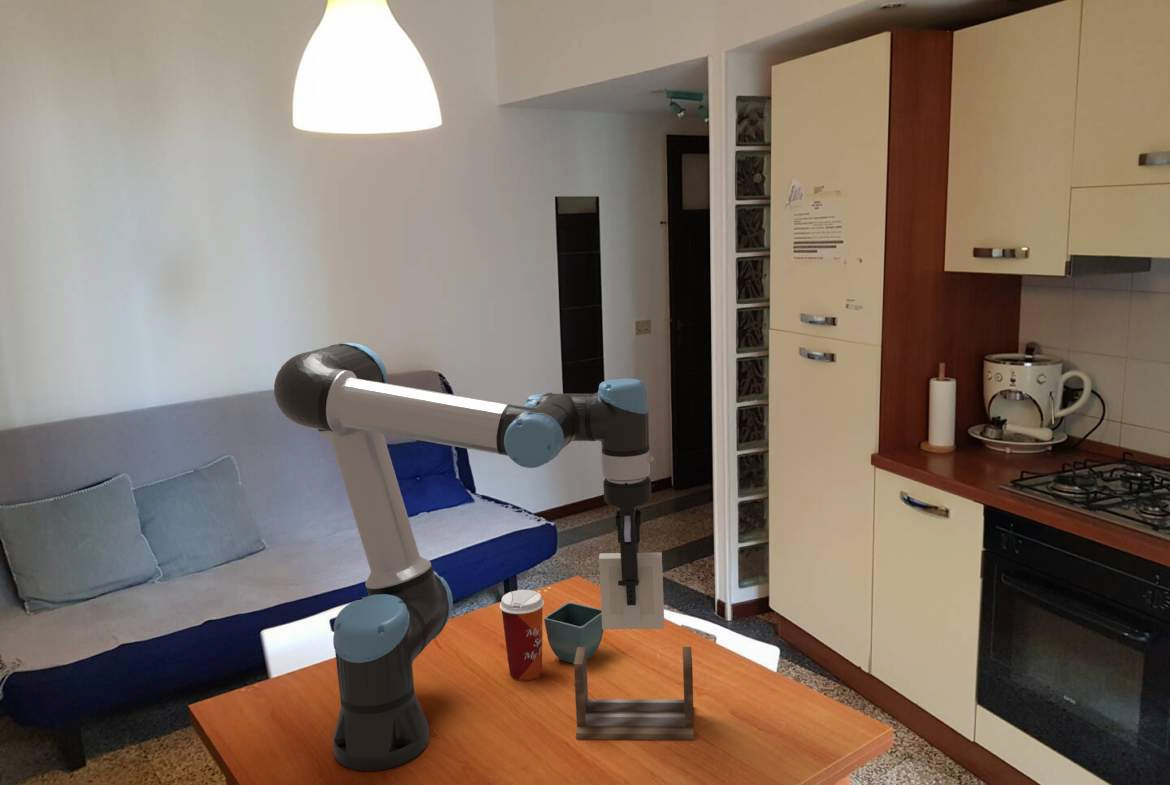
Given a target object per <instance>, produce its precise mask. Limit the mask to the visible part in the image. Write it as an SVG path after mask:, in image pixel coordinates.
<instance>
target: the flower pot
mask: <svg viewBox="0 0 1170 785" xmlns="http://www.w3.org/2000/svg"><path fill="white" fill-rule="evenodd" d="M543 620H544V626H545V633H546V637H547V641H548V644H549V647H550V648H551V650H552V652H553V654H554V655H555V656H556V657H557V658H558V659H559V660H561V661H564V662H568V663H572V664H574V661H575V656H576V651H577V647H586V661H587V660H589V659H590V658H591V657H594V655H595V653H596V652H597V651H598V648H599V646H600V644H601V641H602V638H603V635H604V629H602V613H601V608H596V607H593V606H588V605H584V604H580V603H576V602H571V601H570V602H569V601H568V602H566V603H564V604H563V605H561V606H560V607H558V608H557V609H556V610H554V611H552V612H551V613H549V614H548V615H546V616H545V617H544V618H543Z"/></svg>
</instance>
